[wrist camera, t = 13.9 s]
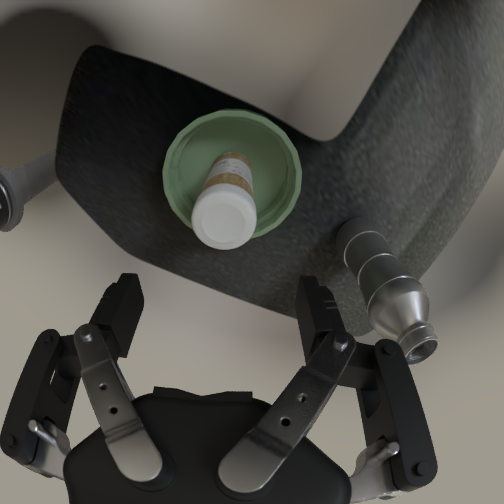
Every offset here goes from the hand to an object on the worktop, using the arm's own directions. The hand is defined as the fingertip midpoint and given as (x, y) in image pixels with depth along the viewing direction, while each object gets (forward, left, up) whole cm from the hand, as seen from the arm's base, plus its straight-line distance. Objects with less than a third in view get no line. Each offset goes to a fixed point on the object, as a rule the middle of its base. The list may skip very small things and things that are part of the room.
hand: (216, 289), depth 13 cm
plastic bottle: (+16, -8, -21) cm, 27 cm away
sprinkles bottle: (0, 0, -20) cm, 20 cm away
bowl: (0, 0, -21) cm, 21 cm away
